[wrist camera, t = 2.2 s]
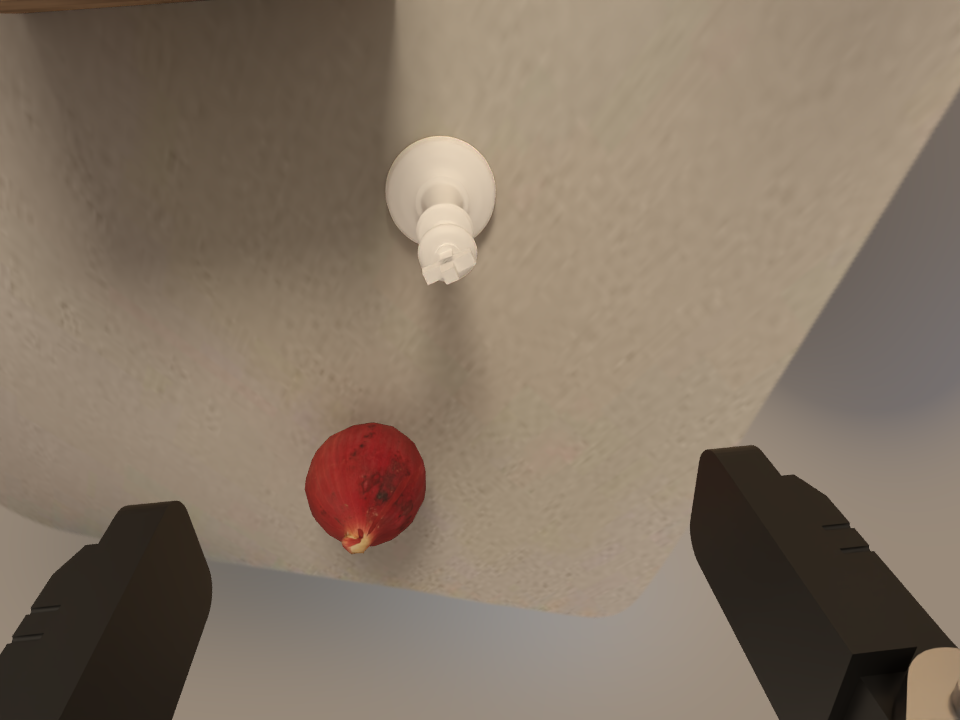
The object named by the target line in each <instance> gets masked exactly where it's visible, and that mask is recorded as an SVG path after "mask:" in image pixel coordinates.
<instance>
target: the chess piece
mask: <svg viewBox="0 0 960 720" xmlns="http://www.w3.org/2000/svg"><path fill="white" fill-rule="evenodd" d="M385 194H386V202H387V206H388V209H389V212H390V214H391V217H392V219H393V221H394V222H395V224H396V226H397V227H398V228H399V229H400V231H401V232H402V233H403V234H404V235H405V236H407V237H408V238H409V239H411V240H412V241H414V242H415V243H417V244H419V246H418V260H419V263H420V265H421V267H422V274H423V276H424V278H425V280H426V282H427V284H428V285H429V284H431V283H434V282H436V281H438V280H439V281H445V283H446V285H447V284H450V283H452V282H455V281H457V280H459V279H461V278H463V277H464V276H466V275H467V274H468V273H469V272H470V271H471V270H472V268H473V267H474V265H476V260H477V246H476V243H475V241H474V238H475V237H476V236H477V235H478V234H479V233H480V232H481V231H482V230H483V229H484V228H485V226H486V225H487V223H488V222H489V220H490V218H491V215H492V213H493V209H494V205H495V198H496V186H495V180H494V176H493V173H492V170H491V168H490V166H489V164H488V163H487V161H486V160H485V158H484V157H483V156H482V155H481V153H480V152H478V151H477V150H476V149H475V148H474V147H473V146H471V145H470V144H468V143H466V142H464V141H462V140H459V139H457V138H453V137H447V136H432V137H427V138H424V139H421V140H418V141H416V142H414V143H412V144H411V145H409V146H408V147H407V148H405V149H404V150H403V151H402V152H401V153H400V154H399V155H398V156H397V158H396V159H395V160H394V162H393V164H392V166H391V168H390V170H389V173H388V176H387V180H386V188H385Z"/></svg>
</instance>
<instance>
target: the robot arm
mask: <svg viewBox="0 0 960 720" xmlns="http://www.w3.org/2000/svg"><path fill="white" fill-rule="evenodd" d="M690 535H691V541H692V546H693V550H694V554H695V556H696V559H697V561H698V563H699V565H700V567H701V569H702V571H703V573H704V575H705V577H706V579H707V581H708V583H709V585H710V587H711V589H712V591H713V593H714V595H715V596H716V598H717V600H718V602H719V604H720V606H721V608H722V610H723V612H724V614H725V616H726V617H727V620H728V622H729V623H730V625H731V627H732V629H733V631H734V633H735V635H736V637H737V639H738V641H739V643H740V645H741V647H742V649H743V651H744V653H745V654H746V656H747V658H748V660H749V662H750V664H751V666H752V668H753V670H754V672H755V674H756V676H757V678H758V680H759V682H760V684H761V685H762V687H763V689H764V691H765V693H766V695H767V697H768V699H769V701H770V703H771V705H772V707H773V709H774V711H775V712H776V714H777V716H778V718H779V720H960V649H959V648H958V647H957V646H956V645H955V644H954V643H953V642H952V641H951V640H950V639H949V638H948V637H947V636H946V634H945V633H944V632H943V631H942V630H941V629H940V628H939V626H938V625H937V624H936V623H935V622H934V620H933V619H932V618H931V617H930V616H929V615H928V614H927V612H926V611H925V610H924V609H923V608H922V606H921V605H920V604H919V603H918V602H917V601H916V599H915V598H914V597H913V596H912V595H911V594H910V593H909V591H908V590H907V589H906V588H905V587H904V585H903V584H902V583H901V582H900V581H899V580H898V578H897V577H896V576H895V575H894V574H893V573H892V571H891V570H890V569H889V568H888V567H887V566H886V564H885V563H884V562H883V561H882V560H881V559H880V558H879V556H878V555H877V554H876V553H875V552H874V551H872V552H871V551H870V549H869V545H868V544H867V542H866V541H865V540H864V539H863V538H862V537H861V535H860V534H859V533H858V532H857V531H856V530H855V528H850V523H849V521H848V520H847V519H846V518H845V517H844V516H843V514H842V513H841V512H840V511H839V510H838V509H837V507H836V506H835V505H834V504H833V503H832V502H831V500H830V499H829V498H828V497H827V496H826V495H824V494H823V493H821V492H820V491H818V490H817V489H815V488H813V487H812V486H811V485H809V484H808V483H806V482H805V481H803V480H802V479H800V478H798V477H797V476H795V475H785V476H781V475H780V473H779V472H778V471H777V470H776V468H775V467H774V466H773V465H772V463H771V462H770V461H769V460H768V458H767V457H766V456H765V455H764V453H763V452H762V451H761V450H760V449H759V448H758V447H756V446H754V445H749V446H739V447H728V448H718V449H708V450H705V451H704V452H703V453H702V454H701V457H700V461H699V467H698V473H697V480H696V487H695V493H694V500H693V506H692V513H691V520H690ZM211 600H212V580H211V574H210V571H209V568H208V565H207V562H206V559H205V557H204V554H203V552H202V549H201V546H200V544H199V541H198V538H197V536H196V533H195V530H194V528H193V525H192V522H191V520H190V517H189V514H188V512H187V509H186V507H185V506H184V505H183V504H182V503H181V502H180V501H168V502H158V503H148V504H138V505H128V506H124V507H123V508H121V509H120V510H119V511H118V513H117V514H116V515H115V517H114V519H113V520H112V522H111V524H110V525H109V527H108V529H107V530H106V532H105V533H104V535H103V537H102V538H101V540H100V542H99V544H92V545H85V546H84V547H83V548H82V549H81V550H80V551H79V552H78V553H76V554H75V555H74V556H73V557H72V558H71V559H70V560H69V561H67V562H66V563H65V564H64V565H63V566H62V567H61V568H60V569H58V570H57V571H56V572H55V573H54V574H53V575H52V576H51V578H50V579H49V581H48V582H47V584H46V586H45V587H44V589H43V590H42V592H41V593H40V595H39V596H38V598H37V599H36V601H35V602H34V604H33V605H32V607H31V614H30V615H26V616H25V618H24V619H23V621H22V622H21V624H20V625H19V627H18V628H17V630H16V631H15V633H14V635H13V636H12V637H13V640H12V643H10V644H7V645H6V647H5V648H4V650H3V651H2V653H1V654H0V720H172V718H173V715H174V712H175V709H176V706H177V703H178V701H179V698H180V695H181V692H182V689H183V686H184V683H185V680H186V678H187V675H188V672H189V669H190V666H191V663H192V661H193V658H194V655H195V652H196V649H197V646H198V643H199V641H200V637H201V635H202V632H203V629H204V626H205V623H206V621H207V618H208V615H209V611H210V607H211Z"/></svg>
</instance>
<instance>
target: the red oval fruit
mask: <svg viewBox="0 0 960 720" xmlns="http://www.w3.org/2000/svg"><path fill="white" fill-rule="evenodd" d="M425 490H426V471H425V467H424V462H423V459H422V457H421V456H420V454H419V452H418V450H417V448H416V446H415V444H414V443H413V442H412V441H411V440H410V439H409V438H408V437H407V436H405V435H404V434H403V433H401V432H400V431H398V430H397V429H396V428H394V427H393V426H388V425H383V424H378V423H366V424H359V425H354V426H351V427H349V428H347V429H345V430H343V431H341V432H338V433H336V434H334V435H332V436H330V437H329V438H328V439H327V440H326V441H325V442H324V444H323V445H322V446H321V447H320V448H319V449H318V450H317V451H316V453H315V455H314V457H313V459H312V462H311V465H310V468H309V471H308V474H307V477H306V483H305V492H306V495H307V499H308V503H309V507H310V510H311V512H312V515H313V517H314V518H315V520H316V521H317V522H318V523H319V524H320V526H321V527H322V528H323V529H324V530H325V531H326V532H327V533H328V534H329V535H330V536H332V537H334V538H336V539H337V540H339V541H341V542H342V545H343V547H344V548H345V549H346V550H347V551H348V552H349V553H351V554H355V553H364V551H365V550H366V549H367V548H368V547H369V546H376V545H379V544H382V543H384V542H387V541H390V540H392V539H393V538H395V537H396V536H398V535H399V534H400V533H401V532H402V531H404V530H405V529H406V528H407V527H408V526H409V525H410V524H411V523H412V522H413V520H414V518H415V516H416V514H417V512H418V510H419V508H420V506H421V504H422V502H423V500H424V496H425Z"/></svg>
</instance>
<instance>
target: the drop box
mask: <svg viewBox="0 0 960 720" xmlns="http://www.w3.org/2000/svg"><path fill="white" fill-rule="evenodd" d="M190 1H204V0H0V13H34V12H48V11H62V10H77V9H91V8H105V7H119V6H133V5H147V4H162V3H176V2H190Z"/></svg>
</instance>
